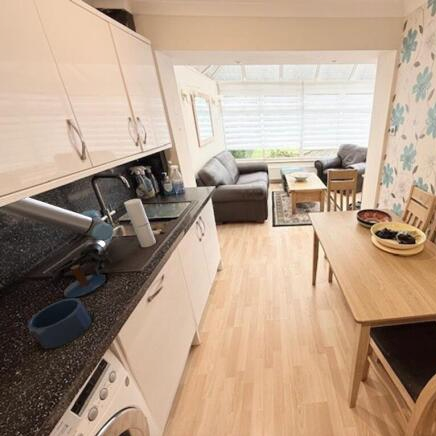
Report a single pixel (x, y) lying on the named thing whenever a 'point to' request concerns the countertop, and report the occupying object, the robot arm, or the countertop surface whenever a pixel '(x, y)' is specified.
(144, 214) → the cylindrical container
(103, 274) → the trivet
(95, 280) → the lid
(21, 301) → the countertop surface
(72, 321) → the pot
